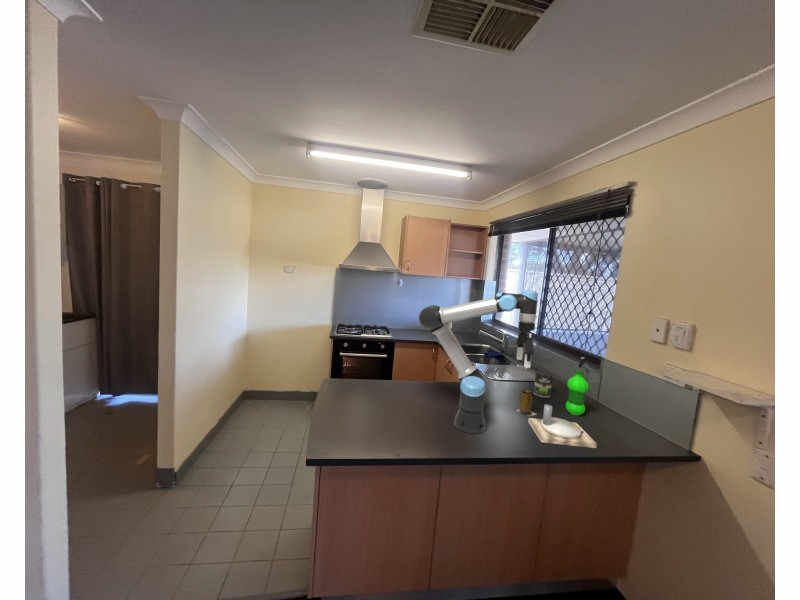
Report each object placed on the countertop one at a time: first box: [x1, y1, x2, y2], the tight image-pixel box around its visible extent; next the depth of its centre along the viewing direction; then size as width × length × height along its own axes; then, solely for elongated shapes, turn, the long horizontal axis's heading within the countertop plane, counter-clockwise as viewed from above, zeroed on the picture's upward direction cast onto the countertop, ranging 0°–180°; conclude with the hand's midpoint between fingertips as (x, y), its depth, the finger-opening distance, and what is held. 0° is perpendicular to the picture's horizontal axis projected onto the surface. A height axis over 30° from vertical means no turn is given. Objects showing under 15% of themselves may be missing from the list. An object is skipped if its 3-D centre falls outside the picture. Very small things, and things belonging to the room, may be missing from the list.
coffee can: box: [532, 370, 554, 398], centre depth 202 cm, size 10×10×14 cm
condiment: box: [515, 389, 538, 417], centre depth 173 cm, size 7×8×12 cm
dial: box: [541, 404, 581, 439], centre depth 151 cm, size 17×17×11 cm
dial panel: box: [527, 417, 598, 449], centre depth 151 cm, size 24×20×2 cm
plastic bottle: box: [565, 368, 589, 417], centre depth 175 cm, size 10×10×25 cm
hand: (522, 363), depth 157 cm, fingers open, 13 cm apart
